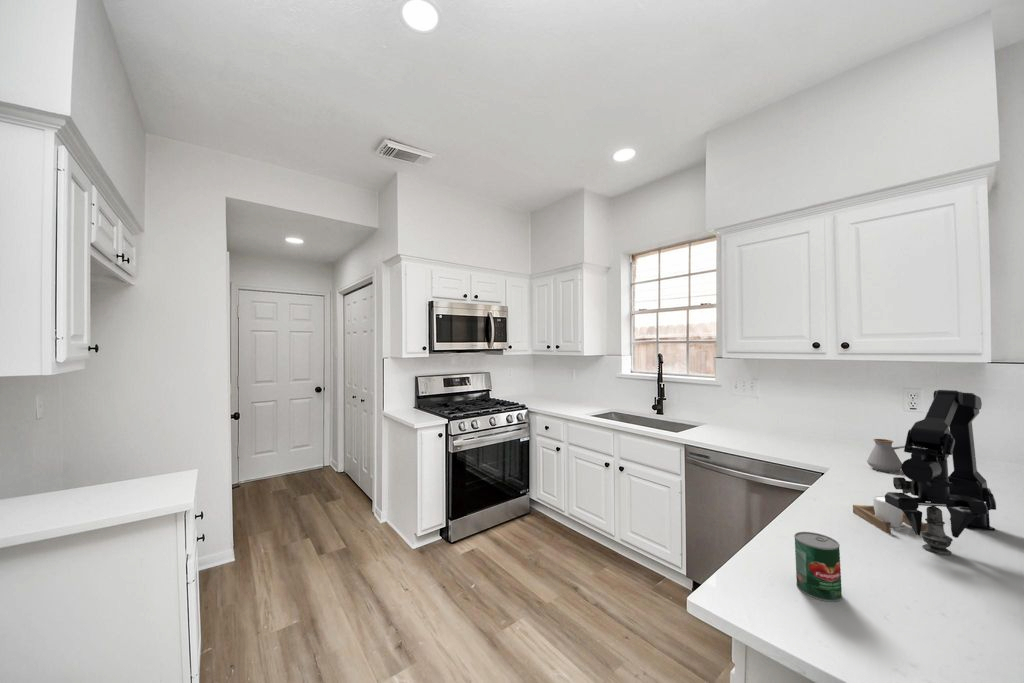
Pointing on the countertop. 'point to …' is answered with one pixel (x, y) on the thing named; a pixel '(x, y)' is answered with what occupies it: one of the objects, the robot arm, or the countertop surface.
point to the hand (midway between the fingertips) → (935, 535)
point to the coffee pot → (884, 456)
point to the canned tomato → (818, 566)
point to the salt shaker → (936, 533)
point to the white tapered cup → (887, 511)
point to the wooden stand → (869, 516)
